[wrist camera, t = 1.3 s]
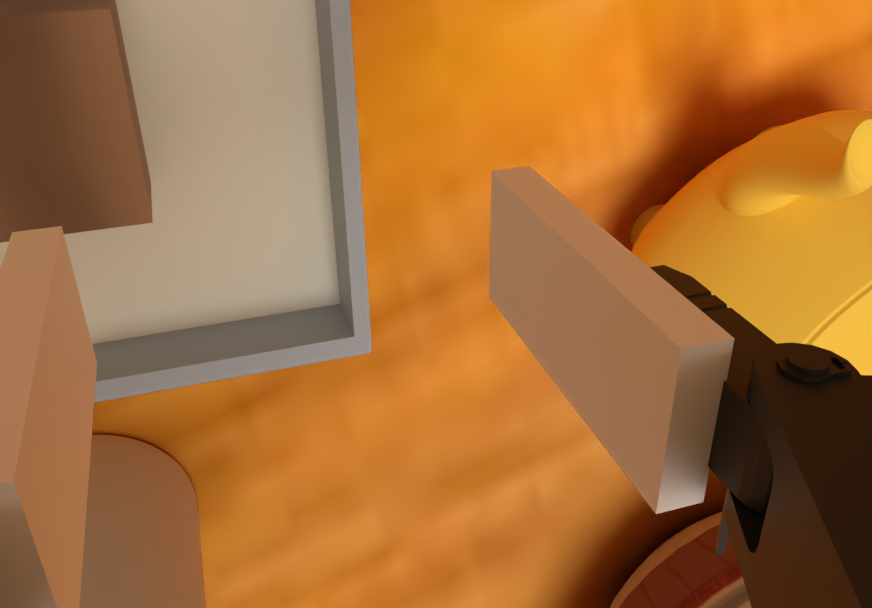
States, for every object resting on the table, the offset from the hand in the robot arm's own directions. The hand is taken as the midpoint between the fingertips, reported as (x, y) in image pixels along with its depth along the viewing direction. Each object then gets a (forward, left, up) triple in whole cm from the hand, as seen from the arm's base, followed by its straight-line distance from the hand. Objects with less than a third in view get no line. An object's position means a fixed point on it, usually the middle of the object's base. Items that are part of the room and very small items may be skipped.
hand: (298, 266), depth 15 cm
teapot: (+22, -9, -16) cm, 29 cm away
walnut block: (-6, 0, -14) cm, 15 cm away
